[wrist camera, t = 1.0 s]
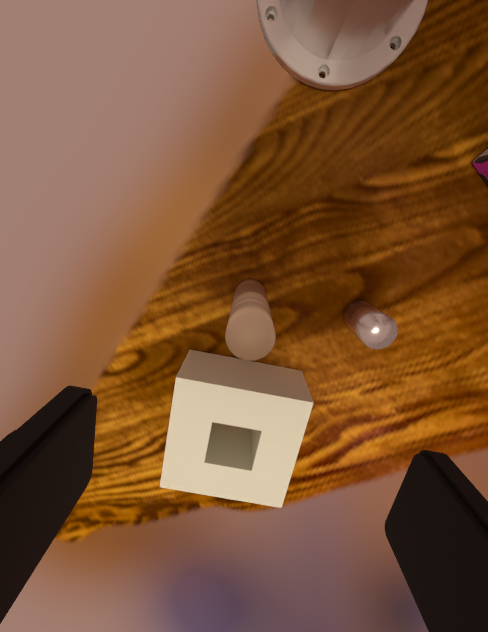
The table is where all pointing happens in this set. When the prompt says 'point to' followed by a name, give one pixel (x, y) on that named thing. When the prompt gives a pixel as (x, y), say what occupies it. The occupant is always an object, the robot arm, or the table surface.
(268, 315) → the birch pin
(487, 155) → the candy bar box
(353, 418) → the table surface
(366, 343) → the steel stub
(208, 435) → the hole block
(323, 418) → the table surface
